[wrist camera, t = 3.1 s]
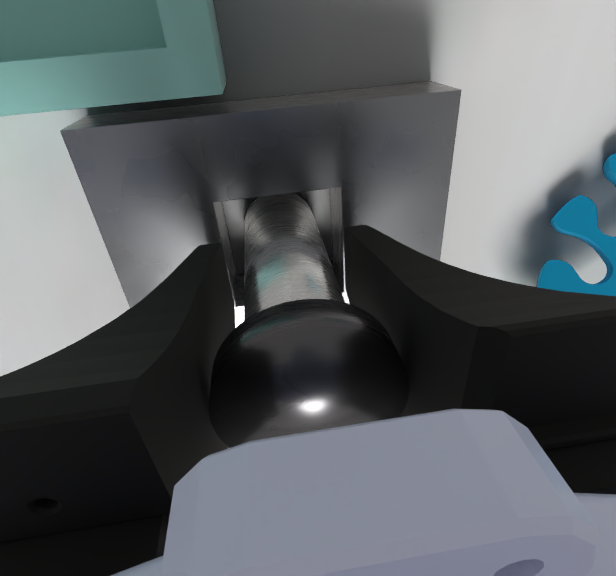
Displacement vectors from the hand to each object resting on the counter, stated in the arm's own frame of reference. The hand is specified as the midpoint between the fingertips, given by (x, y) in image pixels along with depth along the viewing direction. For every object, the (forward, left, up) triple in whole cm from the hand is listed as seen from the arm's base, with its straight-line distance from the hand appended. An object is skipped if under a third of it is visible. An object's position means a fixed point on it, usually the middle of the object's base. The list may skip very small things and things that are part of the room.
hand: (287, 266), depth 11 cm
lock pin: (0, 0, -3) cm, 3 cm away
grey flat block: (0, -3, -3) cm, 4 cm away
